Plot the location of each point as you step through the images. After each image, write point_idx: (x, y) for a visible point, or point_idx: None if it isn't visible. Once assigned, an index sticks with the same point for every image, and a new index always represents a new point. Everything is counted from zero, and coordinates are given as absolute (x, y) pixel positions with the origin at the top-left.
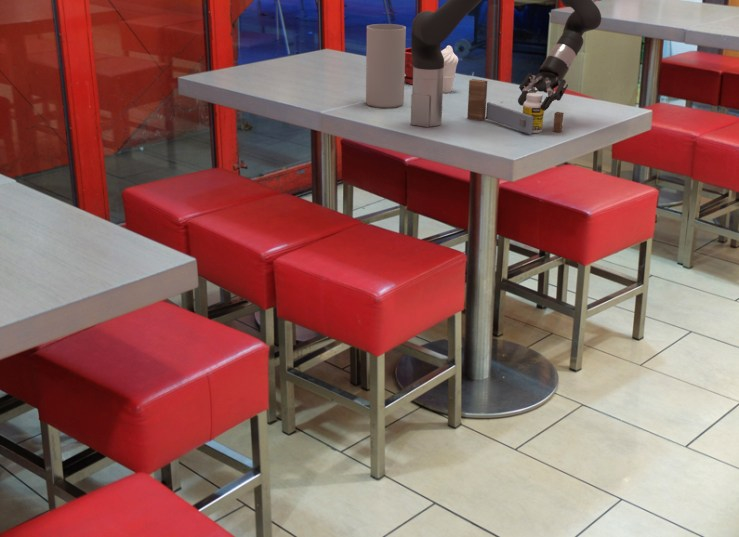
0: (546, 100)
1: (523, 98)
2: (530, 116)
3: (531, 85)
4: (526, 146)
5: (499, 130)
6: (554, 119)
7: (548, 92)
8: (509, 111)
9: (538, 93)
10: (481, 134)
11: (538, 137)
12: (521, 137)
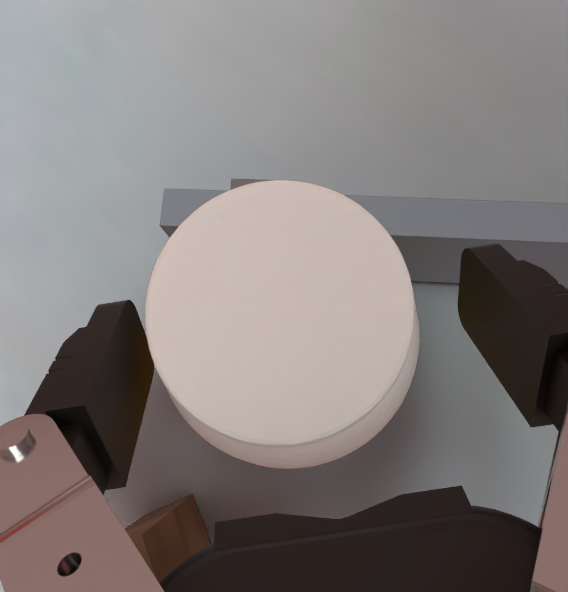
0: (70, 370)
1: (494, 312)
2: (179, 205)
3: (564, 422)
4: (35, 75)
5: (425, 175)
6: (160, 518)
7: (58, 469)
8: (481, 205)
9: (305, 424)
10: (396, 23)
11: (137, 276)
12: (202, 181)
